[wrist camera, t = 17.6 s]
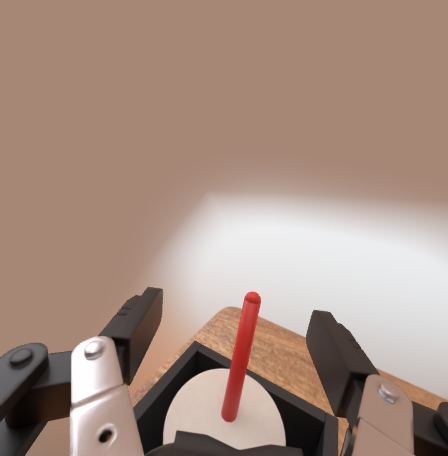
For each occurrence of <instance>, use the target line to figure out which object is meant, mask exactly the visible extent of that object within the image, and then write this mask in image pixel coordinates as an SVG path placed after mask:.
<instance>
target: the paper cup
mask: <svg viewBox="0 0 448 456" xmlns="http://www.w3.org/2000/svg"><path fill="white" fill-rule="evenodd" d="M260 303H261V298H260V296H259V294H257V293H256V292H249V293H247V294H246V296H245V299H244V303H243V308H242V313H241V318H240V323H239V328H238V333H237V338H236V343H235V347H234V352H233V357H232V362H231V367H230V369H213V370H208V371H205V372H202V373H200V374H198V375H196V376H195V377H193V378H192V379H190V380H189V381H188V382H187V383H186V384H185V385H184V386H183V387H182V388H181V389H180V390H179V391H178V393H177V394H176V396H175V397H174V399H173V401H172V403H171V405H170V407H169V410H168V413H167V415H166V420H165V424H164V432H163V445H165V444H168V443H173V442H174V439H175V435H176V431H177V430H179V431H186V432H193V433H199V434H206V435H209V436H211V437H213V438H215V439H217V440H219V441H221V442H223V443H225V444H227V445H229V446H231V447H234V448H236V449H239V450H242V449H248V448H253V447H258V446H263V445H269V444H273V445H280V446H286V439H285V431H284V426H283V422H282V419H281V416H280V413H279V411H278V409H277V406H276V405H275V403H274V401H273V399H272V398H271V396H270V395H269V394H268V392H267V391H266V390H265V389H264V388H263V387H262V386H261V385H260V384H259V383H258V382H257V381H255V380H254V379H253V378H251V377H249V376H248V375H246V370H247V365H248V361H249V356H250V351H251V346H252V342H253V337H254V332H255V327H256V323H257V318H258V313H259V308H260Z"/></svg>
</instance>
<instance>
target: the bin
mask: <svg viewBox="0 0 448 456" xmlns="http://www.w3.org/2000/svg"><path fill="white" fill-rule="evenodd" d="M231 362H232V360H230V359H228V358H226V357H224V356H223V355H221V354H219V353H217V352H215V351H213V350H212V349H210V348H208V347H206V346H204V345H202V344H200V343H199V342H197V341H194V342H193V343H192V344H191V346H190V347H189V348H188V349H187V350H186V351H185V352H184V353H183V354H182V355H181V356H180V358H179V359H178V360H177V361H176V362H175V363H174V364H173V365H172V366H171V367H170V368H169V370H168V371H167V372H166V373H165V374H164V375H163V376H162V377H161V378H160V379H159V380H158V382H157V383H156V384H155V385H154V386H153V387H152V388H151V389H150V390H149V391H148V392H147V394H146V395H145V396H144V397H143V398H142V399H141V400H140V401H139V402H138V403H137V404H136V406H135V407H134V408H133V411H134V415H135V419H136V423H137V428H138V432H139V436H140V440H141V444H142V448H143V452H144V455H145V454H147V453H148V452H150V451H151V450H153V449H155V448H157V447H159V446H162V445H163V432H164V424H165V420H166V415H167V413H168V410H169V407H170V405H171V403H172V401H173V399H174V397H175V396H176V394H177V393H178V391H179V390H180V389H181V388H182V387H183V386H184V385H185V384H186V383H187V382H188V381H189V380H190V379H192V378H193V377H195V376H196V375H198V374H200V373H202V372H205V371H208V370H213V369H230V367H231ZM246 375H248V376H249V377H251V378H253V379H254V380H255V381H257V382H258V383H259V384H260V385H261V386H262V387H263V388H264V389H265V390H266V391H267V392H268V394H269V395H270V396H271V398H272V399H273V401H274V403H275V405H276V406H277V409H278V411H279V413H280V416H281V419H282V422H283V426H284V431H285V439H286V446H287V447H294V448H300V449H302V452H303V456H338V418H336V417H334V416H332V415H331V414H329V413H327V412H326V413H325V411H323V410H322V409H320V408H318V407H316V406H314V405H312V404H311V403H309V402H307V401H305V400H303V399H301V398H300V397H298V396H296V395H294V394H292V393H290V392H289V391H287V390H285V389H283V388H281V387H279V386H278V385H276V384H274V383H272V382H270V381H268V380H267V379H265V378H263V377H261V376H259V375H257V374H256V373H254V372H252V371H250V370H248V369H247V370H246Z"/></svg>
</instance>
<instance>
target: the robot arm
mask: <svg viewBox="0 0 448 456" xmlns="http://www.w3.org/2000/svg"><path fill="white" fill-rule="evenodd" d="M162 304H163V289H160V288H153V287H148V288H147V289H146V290H145V291H144V293H143V294H142V296H138V295H135V296H134V297H132V298H131V299H129V300H127V302H126V303H125V304H124V305H123V306H122V308H121V309H120V310H119V311H118V312H117V314H116V315H115V316H114V317H113V318H112V320H111V321H110V322H109V323H108V325H107V326H106V327H105V328H104V329H103V331H102V332H101V333H100V334H99V335H98V337H93V338H90V339H87V340H85V341H84V342H82V343H80V344H79V345H78V346H77V347H76V348H75V349H74V350H73V351H67V352H59V353H51V354H48V349H47V347H46V346H45V345H44V344H42V343H29V344H25V345H22V346H19V347H16V348H14V349H12V350H10V351H8V352H7V353H5V354H4V355H3V356H2V357H0V456H25V454H26V453H27V451H28V450H29V449H30V447H31V446H32V444H33V443H34V441H35V440H36V438H37V437H38V435H39V434H40V432H41V431H42V430H43V428H44V427H45V425H46V423H47V422H48V421H51V420H56V419H61V418H65V417H70V456H303V452H302V449H300V448H294V447H287V446H280V445H273V444H269V445H263V446H258V447H253V448H248V449H242V450H239V449H236V448H234V447H231V446H229V445H227V444H225V443H223V442H221V441H219V440H217V439H215V438H213V437H211V436H209V435H206V434H199V433H193V432H186V431H179V430H177V431H176V435H175V439H174V442H173V443H168V444H165V445H162V446H159V447H157V448H155V449H153V450H151V451H150V452H148V453H147V454H145V455H144V452H143V448H142V444H141V440H140V436H139V432H138V428H137V423H136V419H135V415H134V411H133V407H132V403H131V399H130V395H129V391H128V387H127V385H129V386H130V384H131V382H132V380H133V378H134V376H135V374H136V372H137V370H138V368H139V366H140V364H141V362H142V360H143V358H144V356H145V354H146V352H147V350H148V348H149V345H150V343H151V341H152V339H153V337H154V335H155V333H156V331H157V329H158V327H159V325H160V322H161V317H162ZM306 344H307V348H308V350H309V353H310V355H311V358H312V360H313V363H314V365H315V368H316V370H317V373H318V375H319V378H320V380H321V383H322V385H323V388H324V390H325V393H326V395H327V398H328V400H329V403H330V405H331V408H332V411H333V413H334V416H335V417H341V418H347V421H348V423H349V425H348V428H347V431H346V435H345V439H344V443H343V447H342V450H341V454H340V456H448V402H442V403H440V404H439V406H438V408H437V410H436V411H435V410H433V409H430V408H428V407H425V406H423V405H420V404H418V403H416V402H413V401H411V400H410V398H409V396H408V395H407V394H406V392H405V391H404V390H403V389H402V388H401V387H399V386H398V385H397V384H396V383H394V382H393V381H391V380H390V379H388V378H386V377H383V376H380V374H379V373H378V371H377V370H376V368H375V367H374V366H373V364H372V363H371V361H370V360H369V358H368V357H367V356H366V354H365V353H364V351H363V350H362V349H361V347H360V345H359V344H358V343H357V342H356V340H355V338H354V337H353V336H352V334H351V332H350V331H349V330H347V329H346V328H345V327H344V326H343V325H342V324H340V323H337V321H336V320H335V318H334V317H333V315H332V314H331V313H330V312H326V311H319V310H314V311H313V312H312V316H311V319H310V323H309V327H308V330H307V335H306Z"/></svg>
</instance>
